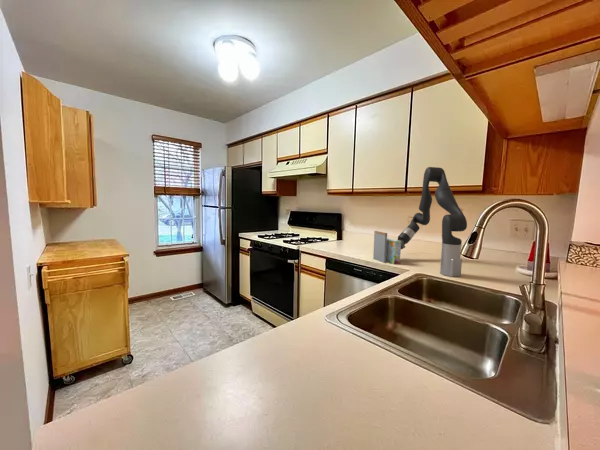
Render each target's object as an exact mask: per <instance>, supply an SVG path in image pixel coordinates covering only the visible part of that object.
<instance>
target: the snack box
mask: <svg viewBox="0 0 600 450" xmlns="http://www.w3.org/2000/svg"><path fill="white" fill-rule="evenodd" d="M401 250H402V249H401V241H399V240H398V239H391V238H388V237H387V252H386V263H389V264H392V265H395V264H396V265H400V264H401V263H400V262H401V254H402V253H401Z"/></svg>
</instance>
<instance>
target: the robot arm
mask: <svg viewBox="0 0 600 450" xmlns="http://www.w3.org/2000/svg"><path fill="white" fill-rule="evenodd" d="M430 182H433V183H438V186H437V187H436V190H435V192H434V197H435V200H436V202H437V204H438V206H439V207H441V209H443V210H445V211H446V212H448V213H449V214H444V215H443V217H442V219H441V254H440V255H441V256H440V271H439V273H440V274H441V275H443V276H447V277H452V278H453V277H454V278H455V277H461V276H462V265H463V258H461V257H462V256H461V255H462V253H461V254H460V251H461V252H462V245H463V244H462V241H463V240H462V239H461V238H459V237H456V236H454V235H453V233H452V232H464V231H465V230H466V229H467V228H468V222H467V218H466V216H465V215H464V213H463V211H462V210H461V207H460V206H459V205H458V202H457V201H456V197H455V196H454V193H453V191H452V189H451V187H450V185H449V181H448V179H447V176H446V172H445V170H444V169H443V168H442V167H439V166H438V167H434V166H428V167H426V168H425V171H424V173H423V179H422V188H421V189H422V191H421V196H420V197H421V198H420V202H419V205H418V210H419V211H420V212H416V213H414V214H413V217H412V218H411V221H410V223H409V225H407V227H406V228H404V229H403V230H402V231H401V233H400V234H399V235H398V236H397V240H399V241H401V250H403V249H405V248H406V246H405V245H407V244H408V243H409V242H410V241H411V240H412V239H413V238H414V236H415V235H416V234H417V233H418V231H419V230H420V226H419V225H418V224H420V225H422V226H427V225H428V224H429V223H430V221H431V206H432V202H433V196H432V194H431V191H430Z"/></svg>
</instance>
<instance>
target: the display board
mask: <svg viewBox="0 0 600 450" xmlns="http://www.w3.org/2000/svg"><path fill="white" fill-rule="evenodd" d="M387 238H388V232H383V231H378V230H374V236H373V253H372V255H373V257H372V258H373V259H374V260H376V261H378V262H381V263H383V264H386V263H387V262H386V252H387Z"/></svg>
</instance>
